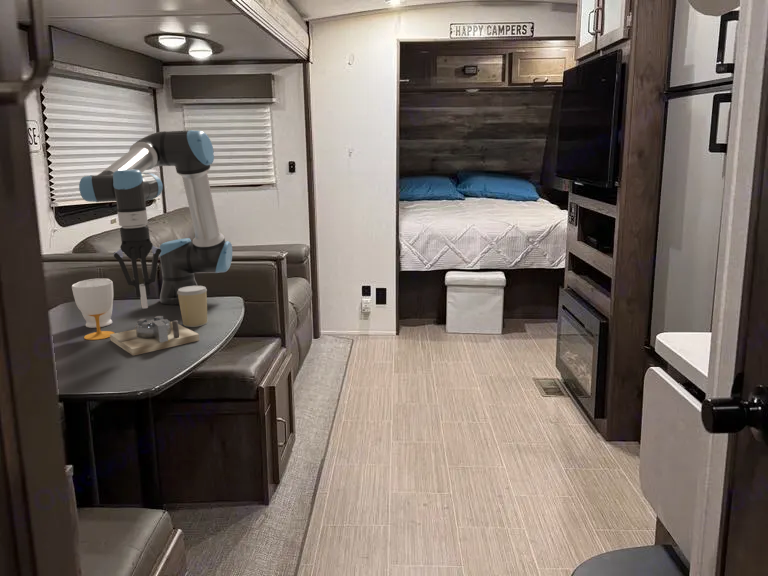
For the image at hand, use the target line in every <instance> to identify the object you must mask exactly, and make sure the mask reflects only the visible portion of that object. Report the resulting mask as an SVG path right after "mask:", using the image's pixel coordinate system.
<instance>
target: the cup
mask: <svg viewBox="0 0 768 576" xmlns="http://www.w3.org/2000/svg"><path fill="white" fill-rule="evenodd" d="M88 280H89V279H88ZM82 281H83V282H80V281H78V283H77V282H76V283H73V284H72V285H71V289H72V294H73V298H74V302H75V304H76V307H77V308H78V309H79V311H80V312H81V314H82V313H83V314H86V315H89V316H94V317H95V320H96V327H97V328H96V332H95V331H94V332H91V333H88V334H86V335H84V337H83V339H84V340H86V341H99V340H106V339H110V334H114V333H115V331H111V330H101V327H100V323H99V316H100V315H102V314H104V313H106V312H107V311H108V310H109V309H110V308H111V306H112V304H113V303H114V302H113V301H114V283H113V281H112V280H111V279H110V280H103V279H100V280H89V281H84V280H82ZM112 307H113V306H112Z"/></svg>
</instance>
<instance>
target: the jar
mask: <svg viewBox="0 0 768 576" xmlns="http://www.w3.org/2000/svg"><path fill="white" fill-rule="evenodd" d="M100 279H103V280H111V279H110V278H103V277H102V278H101V277H100V278H99V277H98V278H90V279H84V280H80V281H78V282H83V281H89V280H100ZM78 282H76V283H78ZM113 307H114V305H113V304H112V306H111V308H110V309H109V310H108V311H107V312H106V313H104V314H102V315H100V316H99V323H100V328H103V327H107V326H110V325H112V324H113V320H112V319H111V318H112V315H113ZM81 315H82V317H83V319H84V320H85V321H86V322H85V327H86V328H90V329H97V327H96V320H95V317H94V316H89V315H86V314H83V313H82V312H81Z"/></svg>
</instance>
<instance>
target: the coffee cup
mask: <svg viewBox="0 0 768 576" xmlns="http://www.w3.org/2000/svg"><path fill="white" fill-rule="evenodd" d="M207 291H208V289H207V287H206V286H205V285H204V286H203V285H198V286H187V287H182V288H180V289H178V291H177V294H178V298H179V304H178V305H179V308H180V309H179V310H180V315H181V320H182V324H183V325H182V326H183V327H185V328H195V327H201V326H204V325H207V323H208V299H207V298H208V297H207V296H208V295H207V294H208V293H207Z"/></svg>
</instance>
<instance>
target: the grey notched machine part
mask: <svg viewBox="0 0 768 576" xmlns="http://www.w3.org/2000/svg"><path fill="white" fill-rule="evenodd" d="M136 322H137V323H136V324H135V329H136V335H137V337H139V338H155V339H156V340H157V341H159V342H160V343H161V342H166V341H168V334H169V333H171V325H170V322H171V321H170V320H168V319H167V318H165V319H164V315H157V316H155V317H153V319H149V320H148V319H147V318H140V319H137V321H136Z"/></svg>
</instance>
